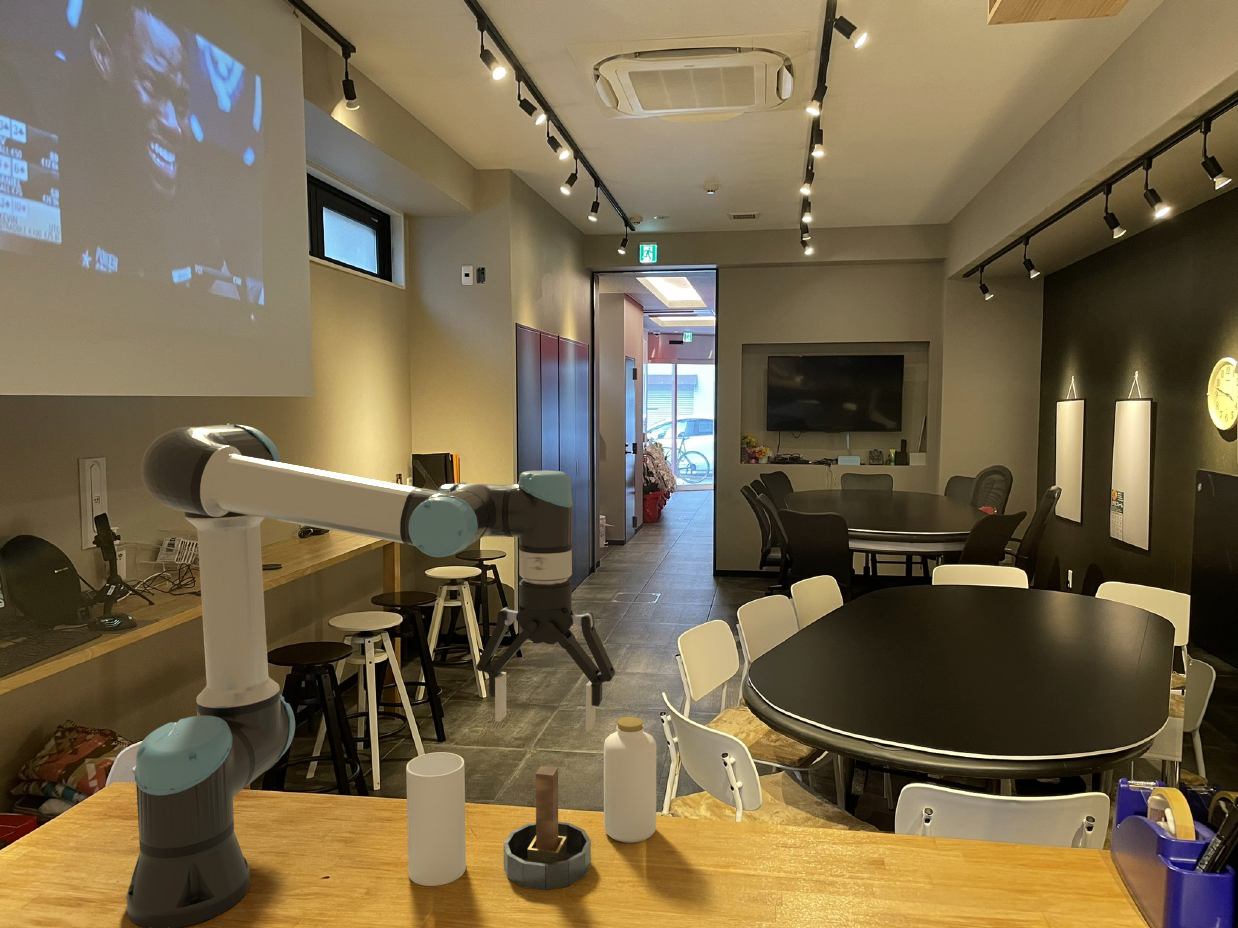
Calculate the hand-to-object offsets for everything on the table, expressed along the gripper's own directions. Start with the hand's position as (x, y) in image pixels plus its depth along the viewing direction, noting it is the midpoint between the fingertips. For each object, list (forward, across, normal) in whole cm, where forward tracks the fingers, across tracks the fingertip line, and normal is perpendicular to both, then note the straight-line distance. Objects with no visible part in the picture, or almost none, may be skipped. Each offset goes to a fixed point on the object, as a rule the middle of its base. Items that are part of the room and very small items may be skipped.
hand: (545, 722), depth 123 cm
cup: (+22, -15, -5) cm, 27 cm away
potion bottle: (+22, +10, +12) cm, 27 cm away
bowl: (+22, 0, 0) cm, 22 cm away
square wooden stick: (+21, 0, 0) cm, 21 cm away
